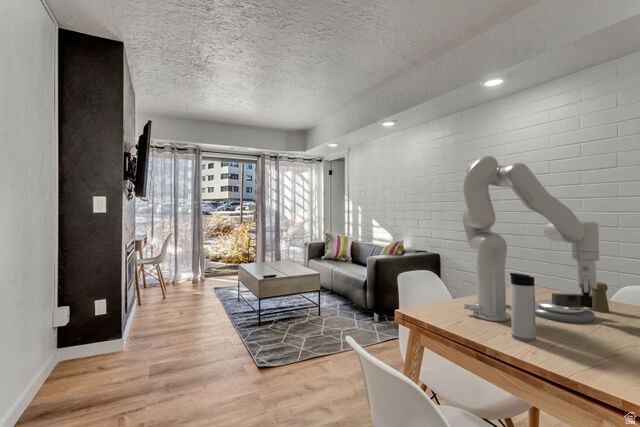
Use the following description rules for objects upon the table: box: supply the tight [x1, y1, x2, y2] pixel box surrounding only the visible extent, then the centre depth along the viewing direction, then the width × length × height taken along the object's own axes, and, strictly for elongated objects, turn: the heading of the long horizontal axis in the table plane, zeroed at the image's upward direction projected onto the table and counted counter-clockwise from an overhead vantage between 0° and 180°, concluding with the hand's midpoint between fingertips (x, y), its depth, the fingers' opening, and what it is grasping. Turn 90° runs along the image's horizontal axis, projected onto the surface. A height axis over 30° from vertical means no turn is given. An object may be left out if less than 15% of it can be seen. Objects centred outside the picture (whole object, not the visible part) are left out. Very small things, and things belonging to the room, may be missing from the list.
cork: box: [589, 281, 610, 314], centre depth 124 cm, size 6×6×11 cm
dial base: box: [535, 301, 596, 324], centre depth 119 cm, size 20×20×3 cm
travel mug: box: [509, 272, 537, 343], centre depth 97 cm, size 6×7×20 cm
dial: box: [536, 292, 585, 314], centre depth 119 cm, size 17×14×6 cm
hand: (586, 306), depth 112 cm, fingers closed
